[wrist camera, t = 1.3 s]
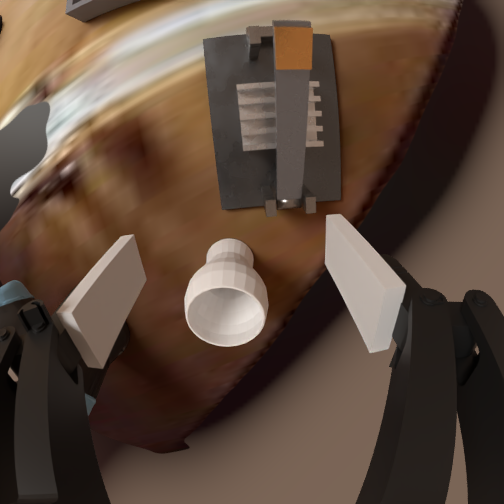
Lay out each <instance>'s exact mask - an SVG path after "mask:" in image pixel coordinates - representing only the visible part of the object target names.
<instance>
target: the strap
mask: <svg viewBox="0 0 504 504" xmlns="http://www.w3.org/2000/svg"><path fill="white" fill-rule="evenodd" d="M272 27H273V49H274V78H275V119H276V207H277V210H281V209H293V208H301V206H302V201H301V195H302V185H303V174H304V162H305V149H306V135H307V119H308V101H309V79H310V70H312V40H313V28H311V22H310V21H299V20H272Z"/></svg>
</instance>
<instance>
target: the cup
mask: <svg viewBox="0 0 504 504" xmlns="http://www.w3.org/2000/svg"><path fill="white" fill-rule="evenodd" d="M253 261H254V259H253V254H252V252H251V250H250V248H249V247H248V246H247V245H246V244H245V243H243V242H242V241H239V240H236V239H222V240H220V241H218V242H216V243H215V244H213V245H212V246H211V248H210V249H209V251H208V253H207V262H206V264H205V265H204V266H203V267H201V268H200V269H199V270H198V271H197V272H196V273H195V274H194V276H193V277H192V279H191V280H190V282H189V285H188V288H187V292H186V295H185V314H186V320H187V323H188V325H189V327H190V329H191V330H192V331H193V333H194V334H195V335H197V336H198V337H199V338H200V339H202V340H204V341H206V342H208V343H210V344H214V345H217V346H227V347H229V346H238V345H241V344H244V343H247V342H249V341H250V340H252V339H254V338H255V337H256V336H257V335H258V334H259V333H260V332H261V330H262V328H263V326H264V324H265V320H266V316H267V311H268V306H269V305H268V298H267V291H266V286H265V284H264V282H263V280H262V279H261V277H260V276H259V275H258V273H257V272H256V271H255V270H254V269H253Z"/></svg>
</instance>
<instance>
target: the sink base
mask: <svg viewBox="0 0 504 504" xmlns="http://www.w3.org/2000/svg"><path fill="white" fill-rule="evenodd" d="M203 44H204V56H205V66H206V77H207V87H208V96H209V106H210V115H211V124H212V133H213V141H214V150H215V158H216V166H217V174H218V182H219V190H220V198H221V205H222V210H225V209H235V208H245V207H255V206H264V208H265V212H266V216H267V217H271V216H277V213H276V119H275V78H274V49H273V27H272V26H266V27H259V26H249V27H247V28H246V34H245V35H234V36H224V37H216V38H209V39H203ZM333 200H341V159H340V132H339V115H338V101H337V90H336V80H335V70H334V62H333V54H332V47H331V40H330V35H325V34H313V40H312V70H310V79H309V101H308V119H307V135H306V149H305V162H304V174H303V185H302V195H301V201H302V208H303V209H304V211H305V212H306V214H307V213H316V202H317V201H333Z"/></svg>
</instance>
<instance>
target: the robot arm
mask: <svg viewBox="0 0 504 504" xmlns="http://www.w3.org/2000/svg"><path fill="white" fill-rule="evenodd" d="M325 265H326V266H327V268H328V270H329V272H330V274H331V276H332V278H333V280H334V281H335V283H336V285H337V287H338V289H339V291H340V293H341V295H342V297H343V299H344V301H345V303H346V305H347V307H348V309H349V311H350V313H351V315H352V317H353V319H354V321H355V323H356V325H357V327H358V329H359V331H360V333H361V335H362V337H363V340H364V342H365V344H366V346H367V348H368V350H369V352H370V353H373V352H378V351H382V350H386V349H389V346H390V342H391V340H392V337H393V339H394V341H395V342H396V344H397V347H396V350H395V353H394V355H393V358H392V361H391V363H390V366H389V367H392V373H391V379H390V385H389V390H388V396H387V401H386V406H385V410H384V415H383V419H382V423H381V427H380V432H379V435H378V439H377V442H376V446H375V449H374V453H373V456H372V460H371V463H370V466H369V469H368V472H367V475H366V478H365V480H364V483H363V486H362V489H361V491H360V494H359V496H358V499H357V502H356V504H445V501H446V497H447V492H448V487H449V482H450V476H451V470H452V464H453V455H454V447H455V436H456V419H457V413H458V418H459V423H460V428H461V434H462V439H463V447H464V454H465V462H466V472H467V484H468V485H467V487H468V504H504V316H503V315H502V313H501V311H500V310H499V308H498V306H497V305H496V303H495V302H494V300H493V299H492V298H491V297H490V296H489V295H488V294H486V293H485V292H483V291H480V290H469V291H468V292H466V294H465V296H464V299H463V302H447V299H446V297H445V296H444V295H443V294H442V293H440V292H438V291H436V290H433V289H430V288H422V287H421V286H420V285H419V284H418V283H417V282H416V280H415V279H414V278H413V277H412V276H411V275H410V274H409V273H407V270H406V269H405V268H404V267H402V265H401V264H400V263H399V262H398V261H397V260H396V259H394V258H393V257H391V256H389V255H387V254H385V255H379V254H378V253H377V252H376V251H375V249H373V247H372V246H371V245H370V244H369V243H368V242H367V241H366V240H365V239H364V238H363V237H362V236H361V235H360V234H359V233H358V231H357V230H356V229H355V228H354V227H353V226H352V225H351V224H350V223H349V222H348V221H347V220H346V219H345V218H344V217H343V216H342V215H341V214H333V215H326V250H325ZM146 280H147V279H146V276H145V273H144V269H143V266H142V262H141V259H140V255H139V252H138V248H137V245H136V241H135V237H134V235H126V236H121V237H120V238H119V239H118V240H117V241H116V243H115V244H114V245H113V246H112V247H111V248H110V249H109V250H108V251H107V252H106V253H105V255H104V256H103V257H102V258H101V259H100V260H99V261H98V262H97V264H96V265H95V266H94V267H93V268H92V269H91V270H90V272H89V273H88V274H87V275H86V276H85V277H84V279H83V280H82V281H81V282H80V283H79V285H77V286H76V287H75V288H74V289H73V290H72V291H71V292H70V293H69V295H68V297H66V298H65V300H64V302H62V303H61V305H60V306H59V307H58V309H57V310H56V311H55V312H54V314H53V315H52V316H51V317H50V315H49V313H48V311H47V309H46V307H45V305H44V303H43V301H42V300H38V299H37V300H35V299H34V296H33V295H31V294H30V293H29V291H28V290H27V289H26V288H25V286H24V285H23V284H22V283H21V282H20V281H17V280H13V281H10V282H8V283H7V284H5V285H4V286H2V287H1V288H0V504H111V503H110V500H109V498H108V495H107V492H106V489H105V486H104V482H103V479H102V476H101V472H100V469H99V465H98V461H97V458H96V454H95V449H94V445H93V440H92V435H91V430H90V425H89V419H88V415H89V414H90V412H91V409H92V407H93V405H94V404H95V403H96V398H97V395H98V392H99V390H100V387H101V385H102V382H103V380H104V377H105V375H106V372H107V370H108V367H109V365H110V364H111V363H112V362H113V361H114V360H115V359H116V358H117V356H118V355H120V354H121V353H122V352H123V351H124V350H125V348H126V346H127V344H128V342H129V338H130V333H129V329H128V326H127V324H126V322H125V320H126V318H127V316H128V314H129V312H130V310H131V308H132V306H133V305H134V303H135V301H136V299H137V297H138V295H139V293H140V291H141V289H142V287H143V286H144V284H145V282H146ZM476 346H478V348H479V354H478V355H477V354H476V351H475V348H476ZM15 381H17V383H16V382H15Z"/></svg>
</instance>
